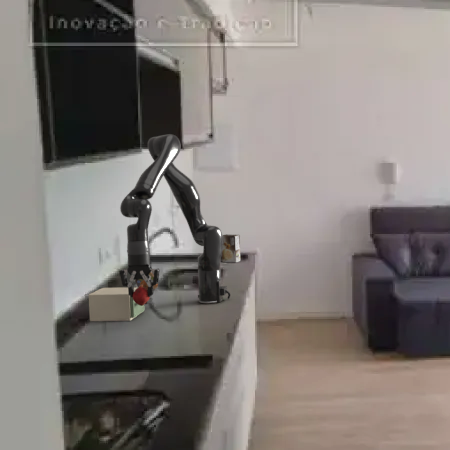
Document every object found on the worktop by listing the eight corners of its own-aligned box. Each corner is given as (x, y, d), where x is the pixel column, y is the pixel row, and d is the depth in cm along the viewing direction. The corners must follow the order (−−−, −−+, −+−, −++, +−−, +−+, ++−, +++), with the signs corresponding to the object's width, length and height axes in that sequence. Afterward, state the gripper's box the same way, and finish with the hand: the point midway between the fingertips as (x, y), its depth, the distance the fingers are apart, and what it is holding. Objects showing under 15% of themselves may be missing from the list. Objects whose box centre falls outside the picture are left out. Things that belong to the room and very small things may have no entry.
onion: (143, 308, 231) (142, 286, 230) (129, 307, 232) (128, 286, 231) (153, 304, 237) (152, 283, 236) (139, 303, 238) (138, 283, 237)
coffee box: (241, 261, 378) (240, 234, 376) (236, 262, 371) (235, 235, 370) (226, 260, 379) (226, 234, 377) (221, 262, 373) (220, 235, 371)
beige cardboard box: (142, 312, 252) (141, 287, 251) (130, 320, 239) (129, 294, 238) (103, 313, 250) (102, 287, 249) (89, 321, 238) (88, 294, 237)
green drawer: (155, 310, 252) (154, 289, 251) (145, 317, 240) (144, 296, 239) (109, 311, 250) (108, 290, 249) (96, 318, 239) (95, 296, 238)
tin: (135, 287, 299) (134, 270, 298) (141, 286, 302) (140, 269, 301) (153, 291, 291) (153, 273, 290) (160, 290, 293) (159, 272, 293)
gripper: (161, 250, 237) (164, 293, 239) (122, 250, 235) (124, 294, 237) (155, 253, 229) (157, 298, 231) (114, 254, 228) (117, 299, 230)
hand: (141, 296), depth 234 cm, fingers closed on onion, 5 cm apart
